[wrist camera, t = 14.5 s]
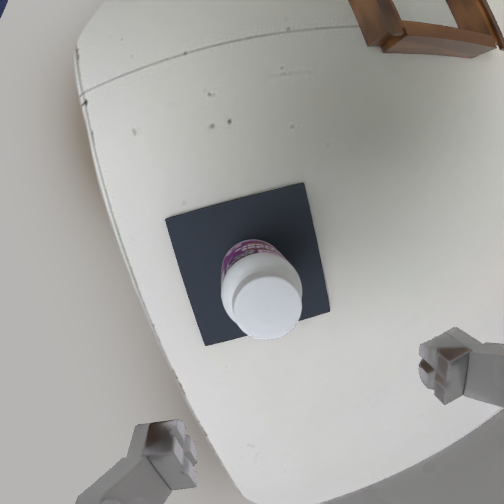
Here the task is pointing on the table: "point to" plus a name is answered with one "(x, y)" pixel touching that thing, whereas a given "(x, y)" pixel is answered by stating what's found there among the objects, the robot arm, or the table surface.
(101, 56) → the table surface
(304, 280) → the coaster
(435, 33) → the wooden square frame
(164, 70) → the table surface
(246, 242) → the pill bottle
